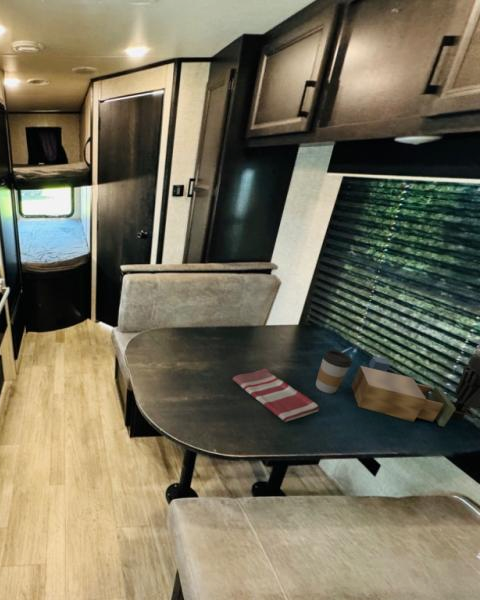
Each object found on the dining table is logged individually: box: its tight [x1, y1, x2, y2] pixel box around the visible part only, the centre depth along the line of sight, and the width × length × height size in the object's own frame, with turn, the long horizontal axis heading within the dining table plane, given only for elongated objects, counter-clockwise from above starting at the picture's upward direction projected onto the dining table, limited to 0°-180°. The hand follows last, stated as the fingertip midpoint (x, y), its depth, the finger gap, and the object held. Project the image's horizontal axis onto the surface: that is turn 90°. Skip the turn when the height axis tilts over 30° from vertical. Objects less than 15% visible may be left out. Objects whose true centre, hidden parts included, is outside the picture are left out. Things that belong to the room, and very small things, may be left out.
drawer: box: [416, 383, 477, 427], centre depth 106 cm, size 20×11×8 cm, turn 61°
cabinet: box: [351, 365, 428, 422], centre depth 111 cm, size 15×13×10 cm
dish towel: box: [232, 367, 320, 423], centre depth 116 cm, size 17×23×3 cm
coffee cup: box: [315, 349, 352, 394], centre depth 117 cm, size 8×8×15 cm
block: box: [368, 355, 391, 372], centre depth 129 cm, size 5×5×5 cm
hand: (454, 417), depth 104 cm, fingers closed
